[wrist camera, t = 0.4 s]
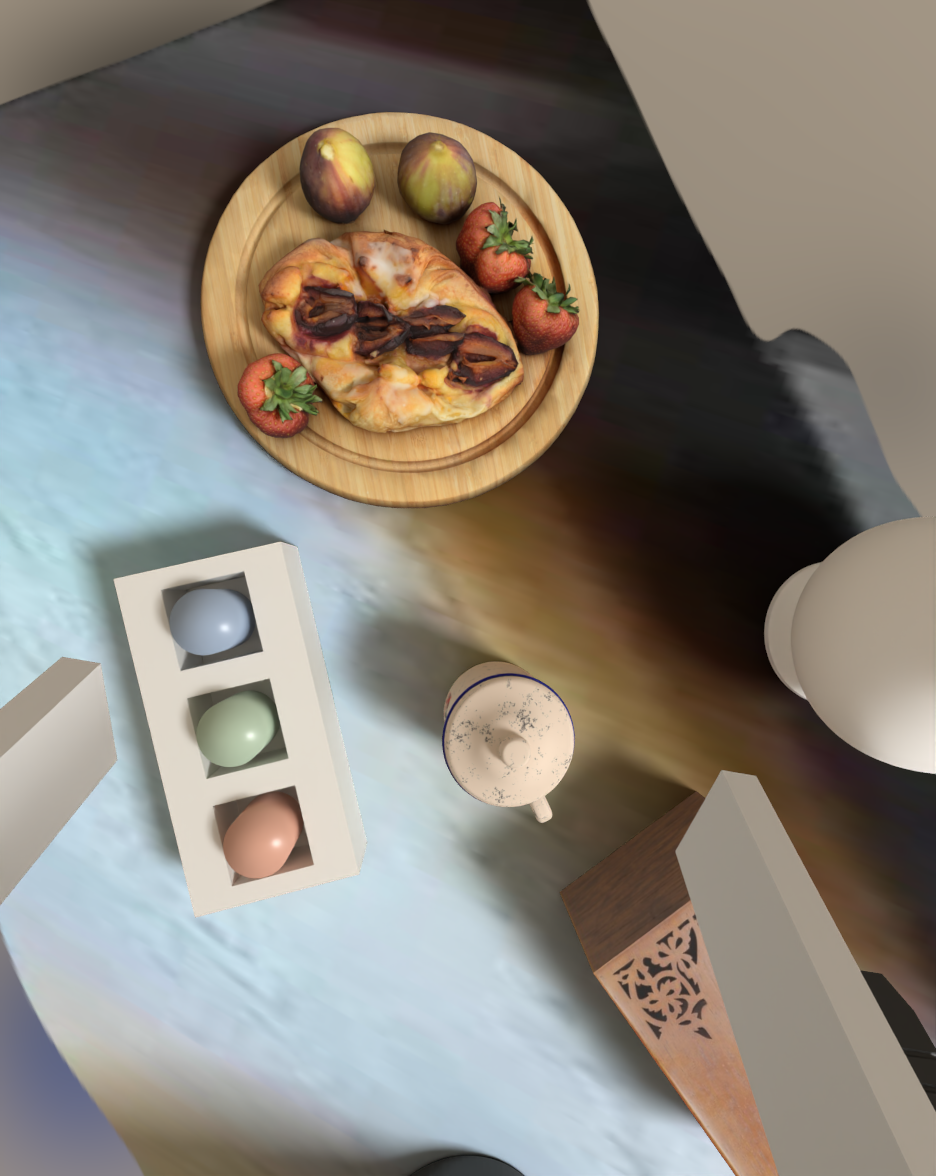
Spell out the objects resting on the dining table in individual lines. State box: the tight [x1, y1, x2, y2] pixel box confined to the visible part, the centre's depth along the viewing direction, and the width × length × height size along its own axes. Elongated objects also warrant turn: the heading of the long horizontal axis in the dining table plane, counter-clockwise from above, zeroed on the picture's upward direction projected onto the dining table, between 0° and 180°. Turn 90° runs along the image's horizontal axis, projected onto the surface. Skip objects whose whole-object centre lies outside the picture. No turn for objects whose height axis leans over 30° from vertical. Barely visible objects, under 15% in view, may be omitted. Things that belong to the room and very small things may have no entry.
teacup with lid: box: [442, 662, 575, 823], centre depth 40 cm, size 12×9×12 cm
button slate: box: [169, 589, 256, 655], centre depth 40 cm, size 5×5×4 cm
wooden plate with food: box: [201, 112, 599, 508], centre depth 42 cm, size 32×32×8 cm
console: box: [114, 542, 367, 917], centre depth 42 cm, size 25×12×5 cm, turn 13°
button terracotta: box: [223, 791, 304, 878], centre depth 40 cm, size 5×5×4 cm
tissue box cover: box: [560, 792, 779, 1176], centre depth 42 cm, size 26×14×10 cm, turn 35°
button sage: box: [196, 690, 280, 767], centre depth 40 cm, size 5×5×4 cm
